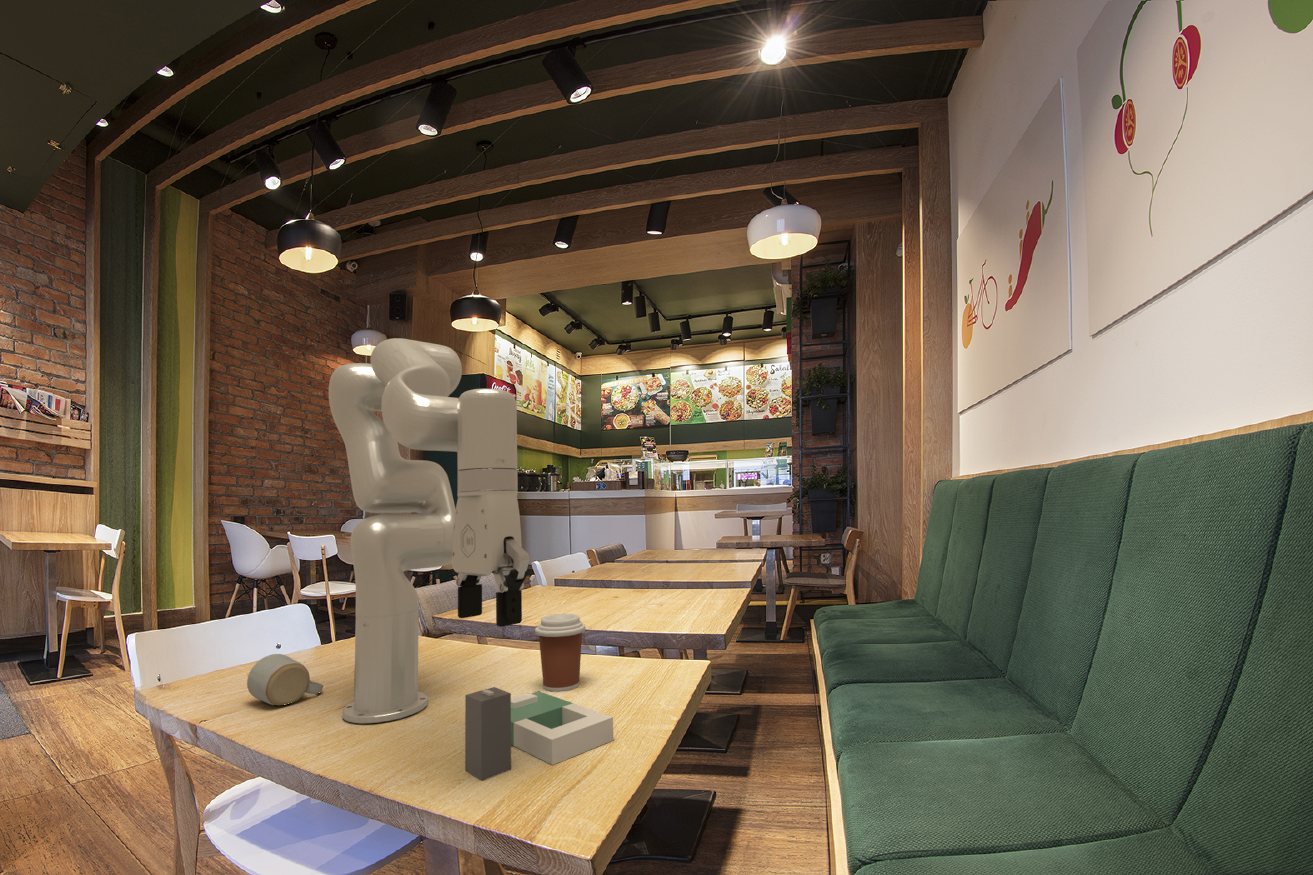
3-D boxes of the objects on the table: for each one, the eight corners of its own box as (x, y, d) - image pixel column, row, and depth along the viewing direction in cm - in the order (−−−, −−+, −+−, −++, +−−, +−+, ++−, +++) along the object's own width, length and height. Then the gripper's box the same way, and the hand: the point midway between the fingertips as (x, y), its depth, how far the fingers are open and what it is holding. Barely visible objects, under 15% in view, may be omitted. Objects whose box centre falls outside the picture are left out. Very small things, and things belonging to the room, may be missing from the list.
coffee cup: (553, 676, 111) (552, 611, 113) (596, 680, 108) (594, 613, 109) (525, 691, 103) (524, 621, 104) (570, 696, 99) (568, 623, 101)
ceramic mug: (265, 713, 96) (268, 664, 97) (244, 704, 101) (247, 658, 102) (331, 696, 105) (333, 651, 106) (310, 689, 109) (312, 646, 110)
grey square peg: (465, 770, 72) (465, 692, 73) (494, 760, 75) (494, 684, 76) (481, 780, 69) (481, 698, 70) (511, 769, 72) (510, 690, 73)
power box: (480, 729, 86) (480, 702, 86) (539, 710, 93) (538, 685, 93) (552, 764, 73) (551, 732, 73) (613, 740, 80) (612, 711, 80)
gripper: (430, 488, 80) (430, 618, 78) (496, 480, 67) (497, 634, 65) (481, 488, 85) (482, 609, 83) (550, 481, 73) (553, 622, 71)
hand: (488, 620), depth 74 cm, fingers open, 9 cm apart
